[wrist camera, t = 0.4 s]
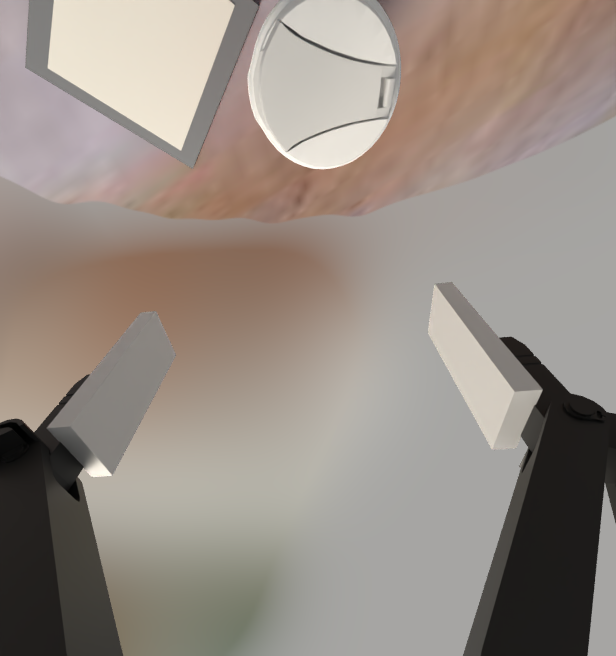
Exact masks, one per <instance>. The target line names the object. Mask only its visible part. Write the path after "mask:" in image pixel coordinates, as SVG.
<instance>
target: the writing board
mask: <svg viewBox="0 0 616 656" xmlns="http://www.w3.org/2000/svg"><path fill="white" fill-rule="evenodd" d="M258 8H259V6H258V5H257V4H256V3H255V2H254V1H253V0H29V12H28V29H27V47H26V65H25V68H27V69H29V70H30V71H32V72H33V73H35V74H37V75H38V76H40V77H42V78H43V79H45V80H47V81H48V82H50V83H52V84H53V85H55V86H57V87H58V88H60V89H62V90H63V91H65V92H67V93H68V94H70V95H72V96H73V97H75V98H76V99H78V100H80V101H81V102H83V103H85V104H86V105H88V106H90V107H91V108H93V109H95V110H96V111H98V112H100V113H101V114H103V115H105V116H106V117H108V118H110V119H111V120H113V121H115V122H116V123H118V124H119V125H121V126H123V127H124V128H126V129H128V130H129V131H131V132H133V133H134V134H136V135H138V136H139V137H141V138H143V139H144V140H146V141H148V142H149V143H151V144H153V145H154V146H156V147H158V148H159V149H161V150H162V151H164V152H166V153H167V154H169V155H171V156H172V157H174V158H176V159H177V160H179V161H181V162H182V163H184V164H186V165H187V166H189V167H191V168H192V169H193V167H194V165H195V163H196V160H197V158H198V155H199V153H200V150H201V148H202V145H203V143H204V140H205V138H206V136H207V133H208V131H209V128H210V126H211V123H212V121H213V118H214V116H215V113H216V111H217V109H218V106H219V104H220V101H221V99H222V96H223V94H224V91H225V89H226V86H227V84H228V82H229V79H230V77H231V74H232V72H233V69H234V67H235V64H236V62H237V59H238V57H239V55H240V52H241V50H242V47H243V45H244V42H245V40H246V37H247V35H248V32H249V30H250V28H251V25H252V23H253V20H254V18H255V15H256V13H257V10H258Z"/></svg>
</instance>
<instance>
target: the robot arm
mask: <svg viewBox="0 0 616 656" xmlns="http://www.w3.org/2000/svg"><path fill="white" fill-rule="evenodd" d="M428 334H429V336H430V337H431V339H432V341H433V343H434V345H435V347H436V348H437V350H438V352H439V354H440V356H441V357H442V359H443V361H444V363H445V365H446V367H447V368H448V370H449V372H450V374H451V376H452V377H453V379H454V381H455V383H456V385H457V386H458V388H459V390H460V392H461V394H462V396H463V398H464V399H465V401H466V403H467V405H468V406H469V408H470V410H471V412H472V414H473V416H474V418H475V419H476V421H477V423H478V425H479V427H480V429H481V430H482V432H483V434H484V436H485V438H486V439H487V441H488V443H489V445H490V447H491V449H492V450H496V449H512V448H516V447H517V445H518V443H519V440H520V438H521V437H522V438H523V440H524V441H525V443H526V445H527V446H528V450H527V452H526V454H525V456H524V458H523V460H522V462H521V464H520V466H519V467H521V470H520V473H519V477H518V480H517V483H516V486H515V490H514V493H513V496H512V499H511V502H510V506H509V509H508V512H507V515H506V519H505V522H504V525H503V529H502V531H501V535H500V538H499V541H498V545H497V548H496V551H495V554H494V557H493V561H492V564H491V567H490V570H489V573H488V577H487V580H486V583H485V586H484V590H483V593H482V596H481V599H480V602H479V606H478V609H477V612H476V615H475V619H474V622H473V625H472V628H471V631H470V635H469V638H468V641H467V644H466V648H465V651H464V654H463V656H587V655H588V644H589V634H590V624H591V614H592V603H593V594H594V584H595V574H596V564H597V554H598V544H599V534H600V524H601V513H602V503H603V493H604V483H605V484H606V488H607V491H608V495H609V498H610V503H611V507H612V510H613V515H614V518H615V522H616V414H614V413H608V412H606V411H605V410H604V409H603V408H602V407H601V406H600V405H598V404H597V403H595V402H594V401H592V400H590V399H587V398H585V397H583V396H579V395H574V394H570V393H569V392H568V391H567V389H566V388H565V387H564V386H563V385H562V384H561V383H560V382H559V381H558V380H557V379H556V378H555V377H554V375H553V374H552V373H551V372H550V371H549V370H548V369H547V368H546V367H545V366H544V365H543V364H541V362H540V360H539V359H538V358H537V357H536V356H534V354H533V353H532V352H531V351H530V350H529V349H528V348H527V347H526V346H525V345H524V344H523V343H521V342H519V341H517V340H516V339H514V338H513V337H502V338H498V336H497V335H496V334H495V332H494V331H493V330H492V329H491V328H490V327H489V325H488V324H487V323H486V322H485V321H484V320H483V318H482V317H481V316H480V315H479V314H478V312H477V311H476V310H475V309H474V308H473V307H472V305H471V304H470V303H469V302H468V301H467V299H466V298H465V297H464V296H463V295H462V294H461V292H460V291H459V290H458V289H457V288H456V287H455V285H454V284H453V283H452V282H447V283H438V284H434V292H433V299H432V307H431V313H430V321H429V329H428ZM175 356H176V354H175V352H174V350H173V348H172V345H171V343H170V341H169V339H168V336H167V334H166V332H165V330H164V328H163V325H162V323H161V321H160V319H159V317H158V314H157V312H156V311H153V312H143V313H140V314H139V315H138V317H137V318H136V319H135V320H134V322H133V323H132V324H131V325H130V326H129V328H128V329H127V330H126V331H125V333H124V334H123V335H122V336H121V338H120V339H119V340H118V341H117V342H116V344H115V345H114V346H113V347H112V348H111V350H110V351H109V352H108V353H107V355H106V356H105V357H104V358H103V360H102V361H101V362H100V363H99V365H98V366H97V367H96V368H95V369H94V371H93V372H92V373H91V374H90V375H86V376H85V377H84V378H82V379H81V380H80V381H78V382H77V383H76V384H75V385H74V386H73V387H72V388H71V389H70V391H69V392H68V393H67V394H66V397H64V398H63V399H62V400H61V401H60V402H59V405H57V406H56V407H55V408H54V410H53V411H52V412H51V413H50V414H49V416H48V417H47V418H46V419H45V420H44V421H43V423H42V424H41V425H40V426H39V427H38V429H37V430H36V431H35V432H33V431H32V430H31V429H30V428H29V427H28V426H27V425H26V424H25V423H24V422H23V421H22V420H20V419H11V420H6V421H4V422H1V423H0V656H123V653H122V649H121V646H120V641H119V636H118V632H117V628H116V624H115V620H114V615H113V611H112V607H111V603H110V598H109V594H108V590H107V586H106V581H105V577H104V573H103V569H102V565H101V561H100V557H99V552H98V548H97V543H96V539H95V535H94V531H93V527H92V522H91V518H90V514H89V510H88V505H87V501H86V497H85V493H84V489H83V485H82V482H81V481H80V479H79V478H78V475H79V474H80V472H81V470H82V469H83V468H84V469H85V470H86V471H87V472H88V473H89V474H90V476H91V477H98V476H112V475H113V473H114V472H115V470H116V468H117V466H118V464H119V462H120V460H121V458H122V456H123V455H124V452H125V451H126V449H127V447H128V445H129V443H130V441H131V440H132V438H133V436H134V434H135V432H136V430H137V428H138V426H139V424H140V423H141V420H142V419H143V417H144V415H145V413H146V411H147V409H148V407H149V405H150V404H151V402H152V400H153V398H154V396H155V394H156V392H157V390H158V388H159V386H160V385H161V383H162V381H163V379H164V377H165V375H166V373H167V371H168V370H169V368H170V366H171V364H172V362H173V360H174V358H175Z"/></svg>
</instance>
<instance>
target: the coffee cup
mask: <svg viewBox="0 0 616 656" xmlns="http://www.w3.org/2000/svg"><path fill="white" fill-rule="evenodd" d="M400 79H401V58H400V51H399V45H398V41H397V37H396V34H395V31H394V28H393V26H392V24H391V22H390V19H389V17H388V15H387V14H386V12H385V11H384V9H383V8H382V6H381V5H380V4H379V2H378V1H377V0H280V1H279V2H278V3H277V4H276V6H275V7H274V8H273V10H272V11H271V12H270V14H269V15H268V17H267V18H266V20H265V22H264V24H263V26H262V28H261V30H260V32H259V35H258V38H257V41H256V43H255V47H254V52H253V56H252V61H251V65H250V68H249V72H248V92H249V98H250V103H251V107H252V110H253V114H254V117H255V119H256V120H257V122H258V123H259V125H260V126H261V128H262V129H263V131H264V133H265V134H266V136H267V137H268V139H269V140H270V142H271V143H272V144H273V145H274V146H275V148H276V149H277V150H278V151H279V152H281V153H282V154H283V155H284V156H285V157H287V158H288V159H290V160H292V161H293V162H295V163H297V164H300V165H302V166H305V167H309V168H313V169H330V168H336V167H339V166H343V165H345V164H348V163H350V162H352V161H354V160H355V159H357V158H358V157H360V156H361V155H363V154H364V153H365V152H366V151H367V150H368V149H370V148H371V147H372V146H373V144H374V143H375V142H376V141H377V140H378V139H379V137H380V136H381V134H382V133H383V131H384V130H385V128H386V126H387V124H388V122H389V120H390V118H391V116H392V114H393V111H394V108H395V105H396V102H397V98H398V93H399V89H400Z"/></svg>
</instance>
